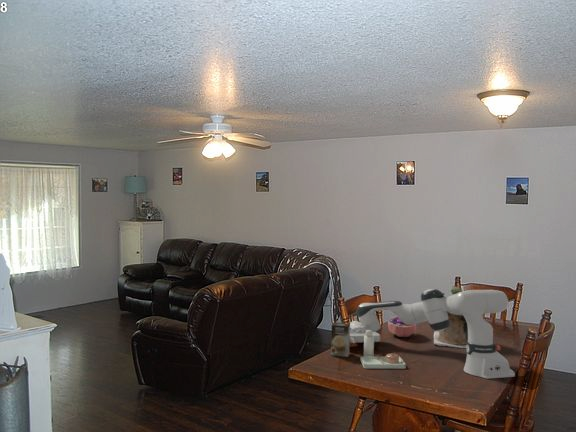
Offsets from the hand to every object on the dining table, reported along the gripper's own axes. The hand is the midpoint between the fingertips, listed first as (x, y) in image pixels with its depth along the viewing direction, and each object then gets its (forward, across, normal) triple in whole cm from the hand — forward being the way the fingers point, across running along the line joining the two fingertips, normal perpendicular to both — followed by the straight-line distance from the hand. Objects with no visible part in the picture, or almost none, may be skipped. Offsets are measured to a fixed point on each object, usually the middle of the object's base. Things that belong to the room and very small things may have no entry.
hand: (363, 341), depth 268 cm
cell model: (-34, -29, -7) cm, 45 cm away
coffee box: (+2, +13, -6) cm, 14 cm away
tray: (+17, -6, -6) cm, 20 cm away
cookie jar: (-21, -57, -8) cm, 61 cm away
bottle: (+7, -1, -6) cm, 9 cm away
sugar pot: (+17, -11, -7) cm, 22 cm away
